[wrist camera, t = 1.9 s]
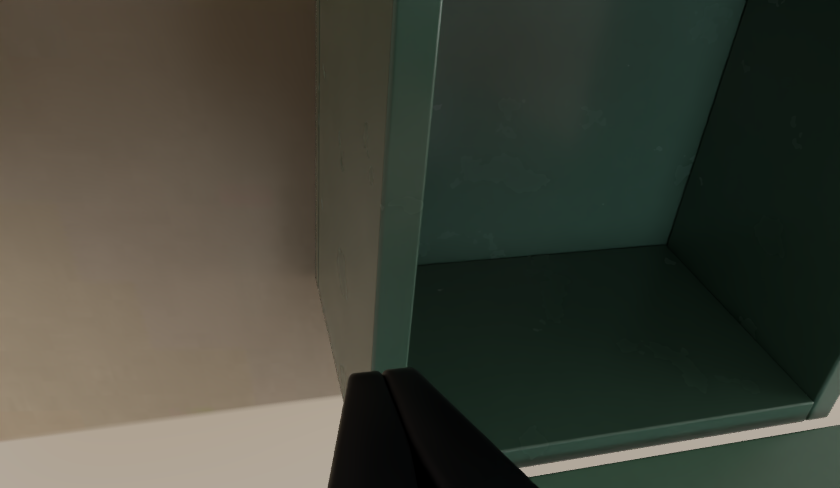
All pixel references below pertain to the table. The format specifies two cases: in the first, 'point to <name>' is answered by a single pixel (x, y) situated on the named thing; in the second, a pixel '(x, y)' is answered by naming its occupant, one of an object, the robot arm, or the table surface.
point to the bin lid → (722, 466)
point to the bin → (584, 212)
